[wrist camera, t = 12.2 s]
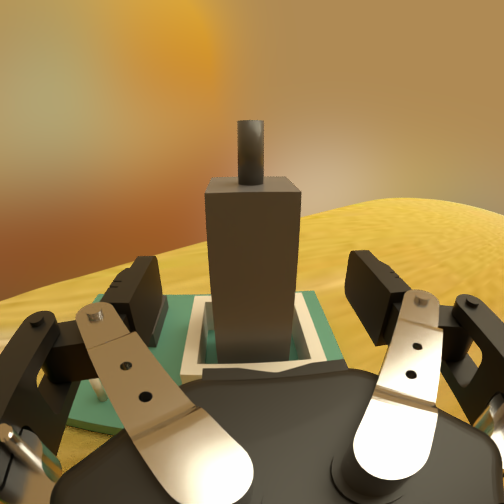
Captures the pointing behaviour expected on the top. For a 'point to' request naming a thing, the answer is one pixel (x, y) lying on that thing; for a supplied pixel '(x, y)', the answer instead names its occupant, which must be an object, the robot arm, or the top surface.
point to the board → (203, 351)
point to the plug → (252, 256)
